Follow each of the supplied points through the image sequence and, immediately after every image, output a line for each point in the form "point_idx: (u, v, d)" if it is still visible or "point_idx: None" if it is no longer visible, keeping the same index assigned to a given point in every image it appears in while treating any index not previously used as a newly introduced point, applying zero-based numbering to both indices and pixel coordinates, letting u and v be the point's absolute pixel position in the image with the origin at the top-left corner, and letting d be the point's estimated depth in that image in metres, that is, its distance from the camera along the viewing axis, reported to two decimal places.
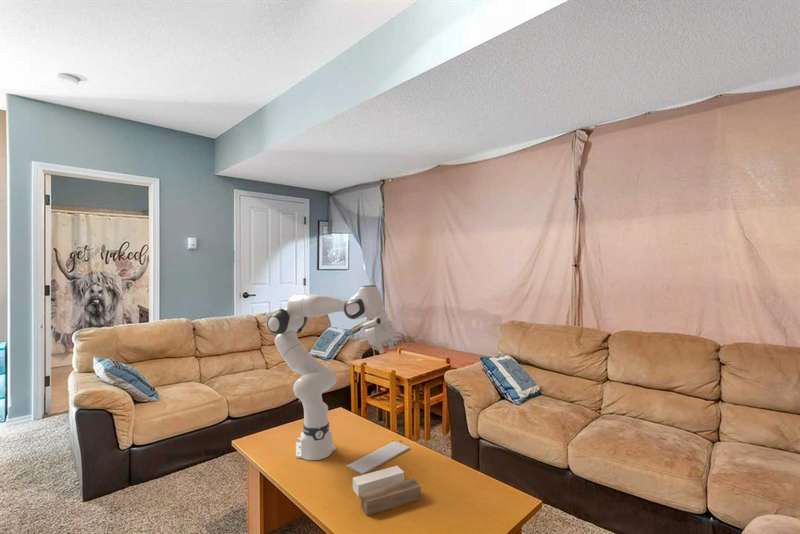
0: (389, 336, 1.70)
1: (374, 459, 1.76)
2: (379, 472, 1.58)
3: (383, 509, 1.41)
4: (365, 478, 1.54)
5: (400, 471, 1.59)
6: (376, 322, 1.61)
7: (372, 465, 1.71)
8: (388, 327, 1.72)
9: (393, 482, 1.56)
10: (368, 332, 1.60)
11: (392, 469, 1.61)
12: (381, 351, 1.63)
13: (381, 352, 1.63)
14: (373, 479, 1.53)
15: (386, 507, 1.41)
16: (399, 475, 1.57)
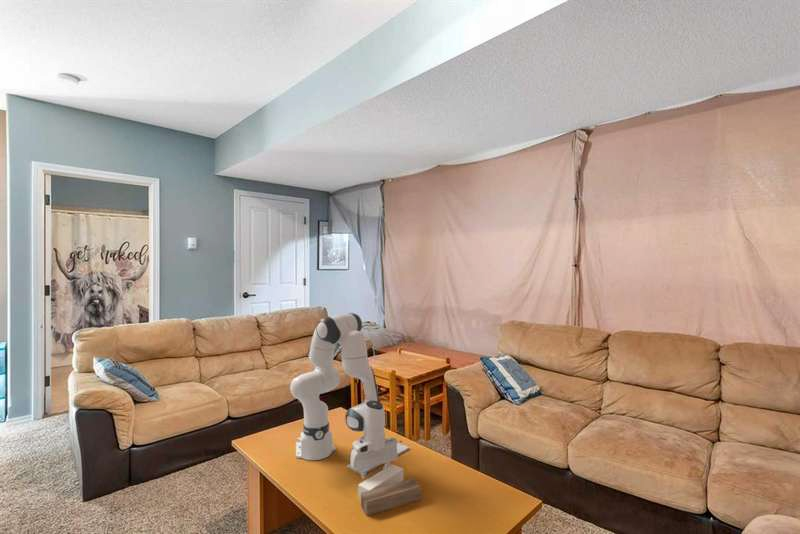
0: (381, 462, 1.60)
1: None
2: (380, 473, 1.57)
3: (383, 509, 1.41)
4: (371, 482, 1.51)
5: (399, 469, 1.61)
6: (359, 450, 1.54)
7: None
8: (386, 451, 1.61)
9: (395, 480, 1.57)
10: (352, 455, 1.57)
11: (390, 468, 1.61)
12: (362, 476, 1.58)
13: (362, 476, 1.58)
14: (379, 481, 1.51)
15: (386, 507, 1.41)
16: (400, 473, 1.59)
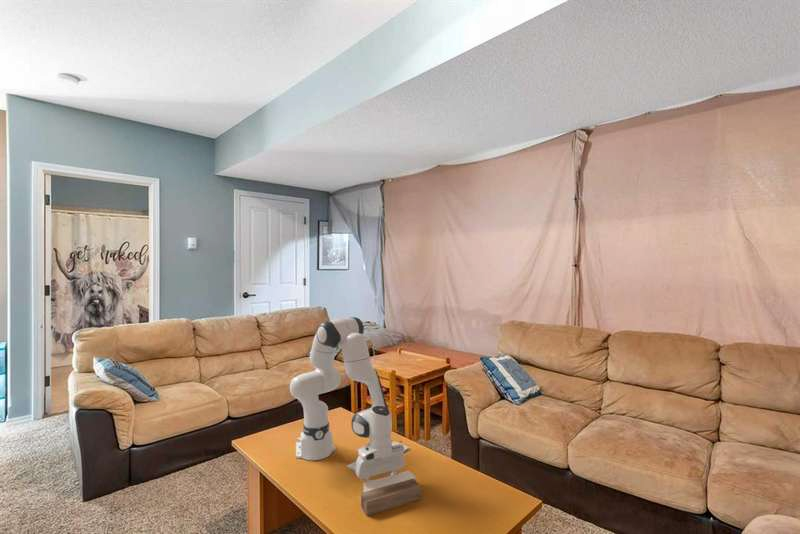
0: (388, 469, 1.54)
1: None
2: (390, 477, 1.54)
3: (383, 509, 1.41)
4: (376, 484, 1.50)
5: (412, 476, 1.55)
6: (365, 458, 1.48)
7: None
8: (392, 458, 1.55)
9: None
10: (357, 462, 1.51)
11: (404, 474, 1.56)
12: None
13: None
14: (385, 485, 1.49)
15: (386, 507, 1.41)
16: None
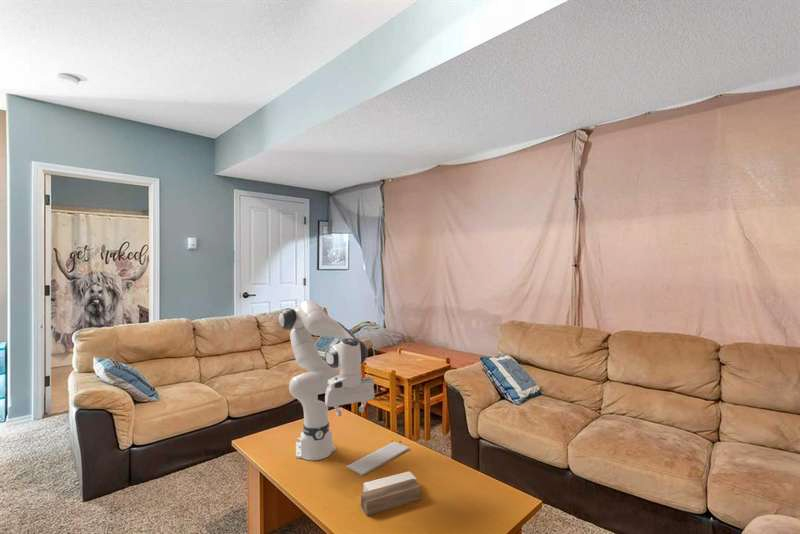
0: (357, 400, 1.56)
1: (374, 460, 1.76)
2: (391, 477, 1.54)
3: (383, 509, 1.41)
4: (376, 484, 1.50)
5: (412, 477, 1.54)
6: (333, 386, 1.51)
7: (372, 466, 1.70)
8: (362, 389, 1.57)
9: None
10: (326, 391, 1.53)
11: (404, 475, 1.56)
12: (337, 413, 1.54)
13: (337, 414, 1.54)
14: (384, 485, 1.49)
15: (386, 507, 1.41)
16: None
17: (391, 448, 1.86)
